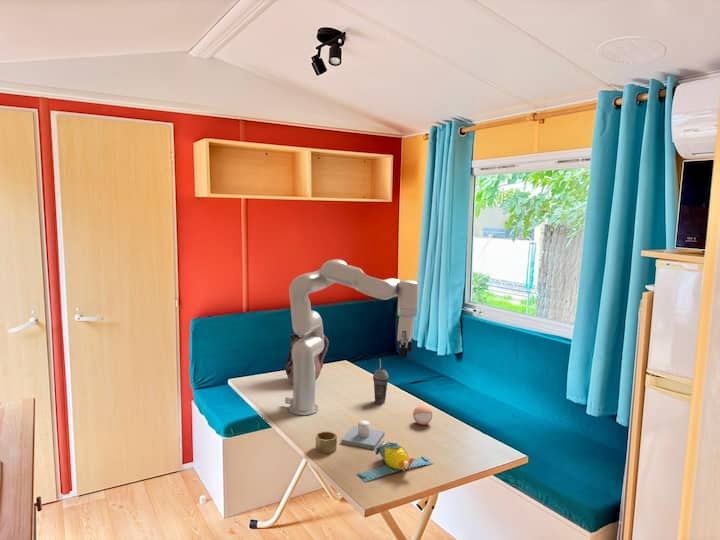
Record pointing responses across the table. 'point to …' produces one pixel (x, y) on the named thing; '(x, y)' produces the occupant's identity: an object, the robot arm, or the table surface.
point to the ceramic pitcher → (317, 359)
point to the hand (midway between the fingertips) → (405, 354)
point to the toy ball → (422, 414)
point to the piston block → (363, 436)
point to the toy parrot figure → (393, 461)
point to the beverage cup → (380, 385)
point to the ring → (326, 442)
